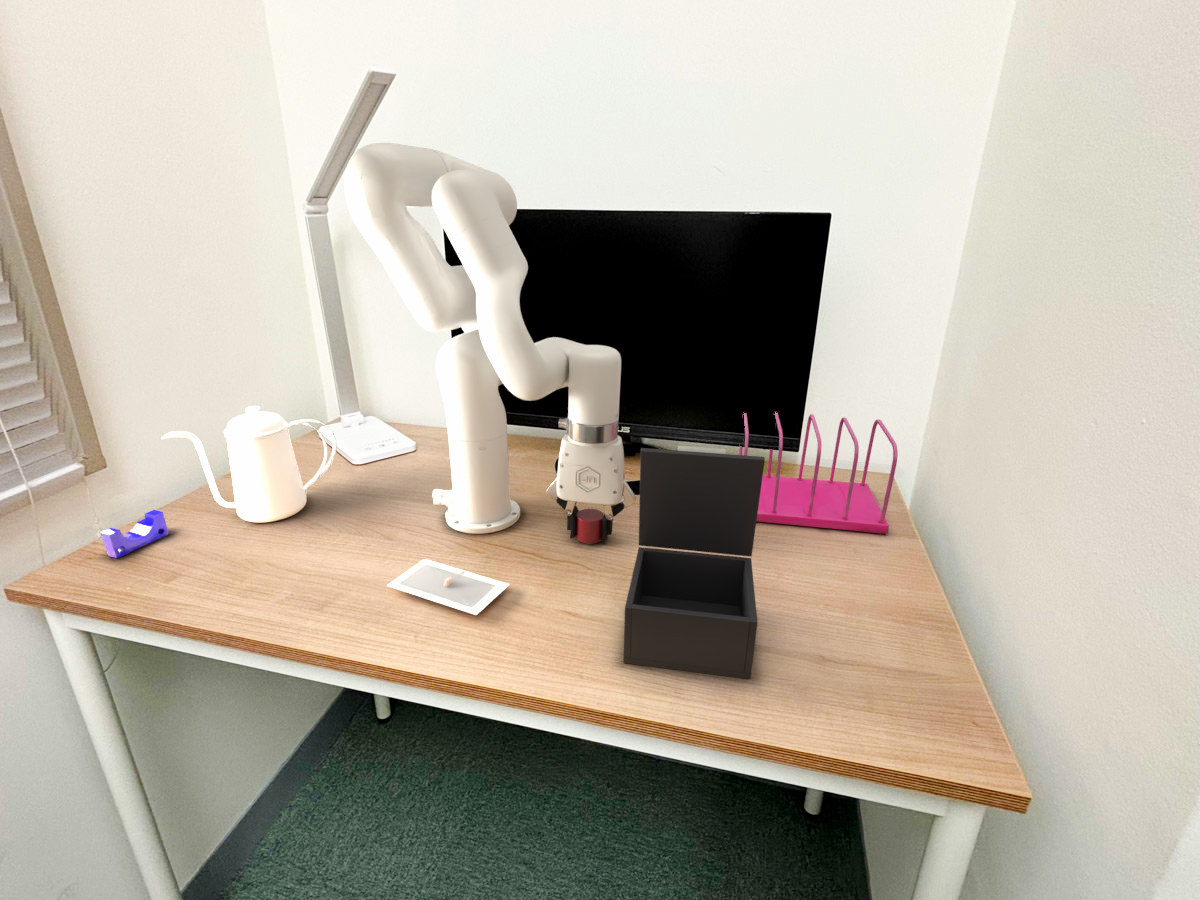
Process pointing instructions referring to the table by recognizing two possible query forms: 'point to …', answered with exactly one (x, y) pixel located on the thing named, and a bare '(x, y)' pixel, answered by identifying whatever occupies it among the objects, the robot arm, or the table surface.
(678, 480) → the lid
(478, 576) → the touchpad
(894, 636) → the table surface
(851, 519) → the file sorter
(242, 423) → the coffeepot
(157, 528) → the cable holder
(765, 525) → the table surface
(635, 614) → the dark grey box
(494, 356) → the robot arm
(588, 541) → the red cylinder
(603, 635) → the table surface
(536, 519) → the table surface
